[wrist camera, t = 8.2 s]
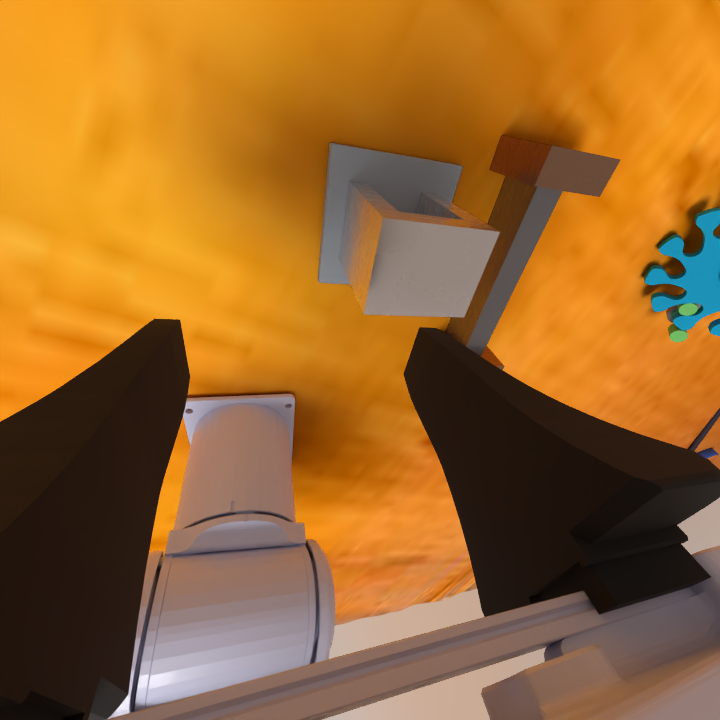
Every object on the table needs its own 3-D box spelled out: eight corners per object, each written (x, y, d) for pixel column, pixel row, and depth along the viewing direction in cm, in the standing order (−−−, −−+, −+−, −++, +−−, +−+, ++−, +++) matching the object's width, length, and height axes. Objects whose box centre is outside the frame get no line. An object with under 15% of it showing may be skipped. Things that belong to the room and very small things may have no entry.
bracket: (417, 264, 20) (464, 317, 15) (338, 258, 19) (363, 314, 14) (437, 194, 18) (500, 231, 13) (348, 181, 16) (382, 217, 12)
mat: (421, 284, 22) (425, 288, 21) (317, 278, 20) (318, 282, 19) (457, 164, 17) (463, 166, 17) (329, 142, 16) (331, 143, 15)
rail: (469, 350, 27) (495, 383, 24) (425, 350, 26) (446, 385, 23) (561, 148, 18) (620, 159, 15) (501, 135, 17) (552, 145, 14)
